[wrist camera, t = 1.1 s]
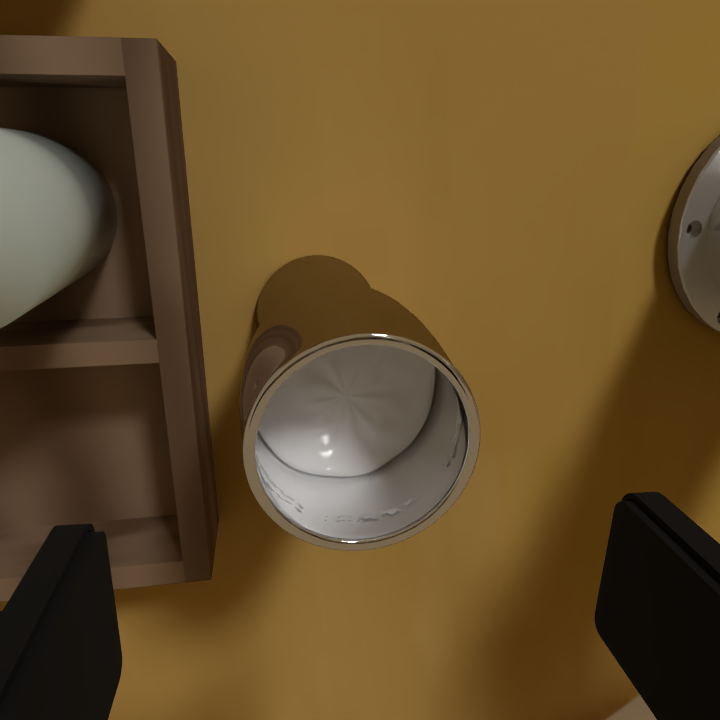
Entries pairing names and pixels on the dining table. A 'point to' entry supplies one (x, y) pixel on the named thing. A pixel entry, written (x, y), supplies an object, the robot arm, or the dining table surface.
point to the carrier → (110, 330)
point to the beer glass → (350, 411)
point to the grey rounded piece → (48, 219)
